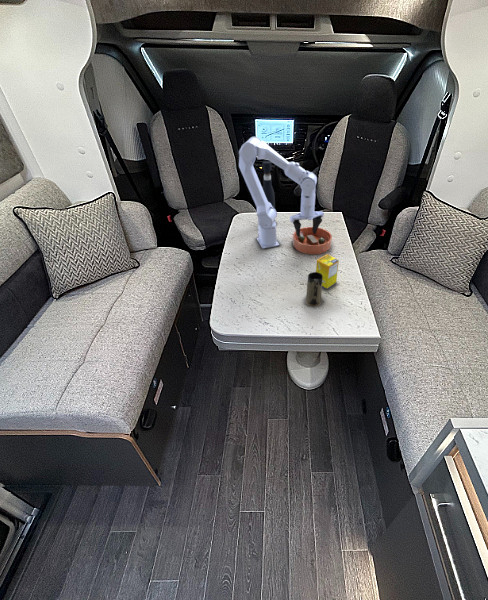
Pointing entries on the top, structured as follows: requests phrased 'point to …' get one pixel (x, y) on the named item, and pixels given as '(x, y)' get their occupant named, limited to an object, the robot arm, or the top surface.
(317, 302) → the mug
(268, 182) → the wine bottle
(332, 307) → the top surface
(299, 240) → the bead
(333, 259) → the supplement box
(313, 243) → the brown wooden block
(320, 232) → the bowl
